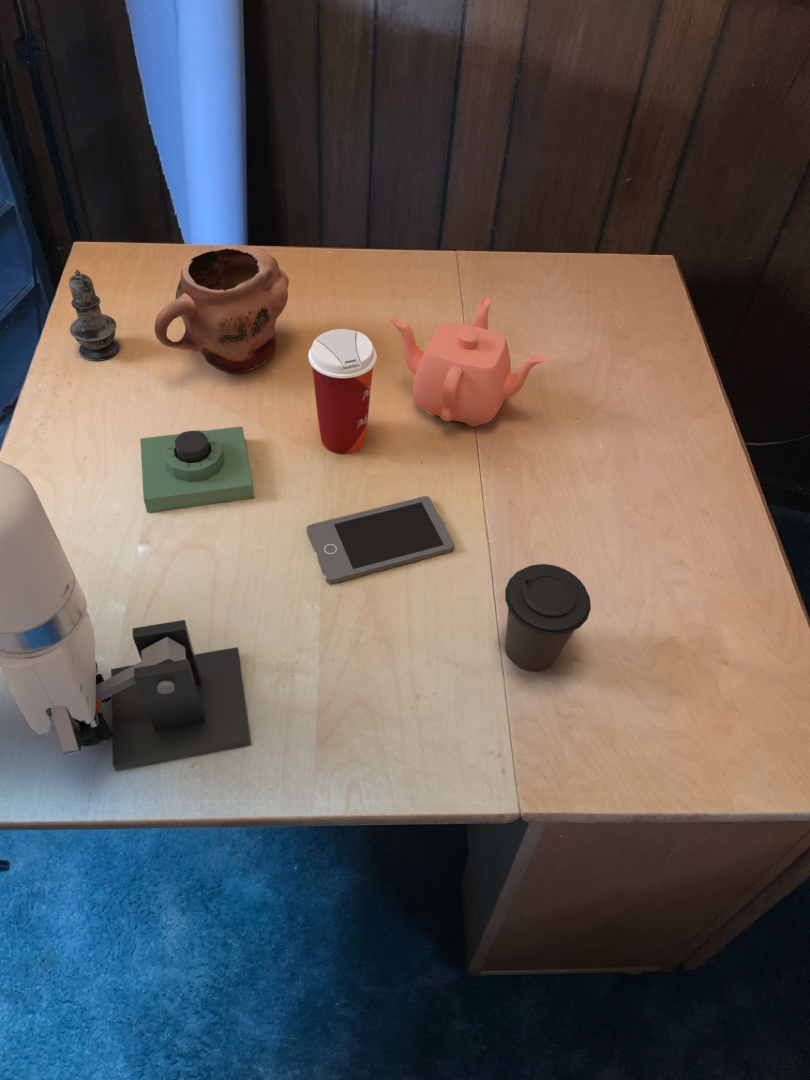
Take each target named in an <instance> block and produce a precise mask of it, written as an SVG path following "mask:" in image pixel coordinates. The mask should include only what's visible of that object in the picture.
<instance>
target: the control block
mask: <svg viewBox="0 0 810 1080" xmlns="http://www.w3.org/2000/svg"><path fill="white" fill-rule="evenodd" d="M195 431H199V432H201V433H203V434H204V435H205V436H206V437H207V440H208V446H209V454H208V456H207V457H206V458H205V459H204V460H202V461H200V462H197V463H186V462H184V461H182V460H180V459H179V457H178V455H177V451H176V446H175V440H176V438H177V437H178V436H179V435H180V434H182V433H184V432H185V431H182V432H181V433H175V434H167V435H165V434H164V435H157V436H150V437H149V436H148V437H141V438H140V441H139V442H140V456H141V457H140V459H141V475H142V479H141V480H142V495H143V496H142V497H143V502H144V506H145V510H146V512H147V513H154V512H155V513H156V512H162V511H167V510H175V509H183V508H190V507H198V506H206V505H212V504H213V505H214V504H219V503H227V502H234V501H235V502H236V501H241V500H249V499H254V498H255V495H254V486H253V480H252V475H251V469H250V463H249V458H248V457H249V456H248V450H247V445H246V439H245V433H244V427H243V426H234V427H233V426H232V427H225V428H215V429H209V430H199V429H198V430H195Z"/></svg>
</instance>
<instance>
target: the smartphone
mask: <svg viewBox="0 0 810 1080" xmlns="http://www.w3.org/2000/svg"><path fill="white" fill-rule="evenodd" d="M306 534H307V536H308V538H309V541H310V544H311V547H312V548H313V552H314V554H315V556H316V559H317V562H318V564H319V566H320V569H321V571H322V574H323V576H324V577H323V578H324V579H325V582H326V583H327V584H336V583H340V582H343V581H347V580H350V579H354V578H357V577H362V576H365V575H369V574H372V573H377V572H380V571H384V570H388V569H391V568H395V567H399V566H402V565H406V564H410V563H413V562H417V561H420V560H424V559H428V558H432V557H435V556H438V555H443V554H446V553H450V552H453V550H454V549H455V542H454V539H453V538H452V536H451V535H450V532H449V531H448V529H447V527H446V525H445V523H444V521H443V519H442V518H441V516H440V514H439V512H438V510H437V508H436V507H435V505H434V503H433V501H432V499H431V497H430V496H427V495H425V496H419V497H416V498H412V499H407V500H404V501H403V500H402V501H399V502H396V503H390V504H388V505H382V506H379V507H375V508H371V509H366V510H362V511H359V512H355V513H351V514H347V515H343V516H339V517H335V518H331V519H327V520H322V521H318V522H314V523H311V524H309V525H307V526H306Z"/></svg>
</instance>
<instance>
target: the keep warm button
mask: <svg viewBox="0 0 810 1080" xmlns="http://www.w3.org/2000/svg"><path fill="white" fill-rule="evenodd" d="M199 431H200V430H199ZM199 431H196V430H187V431H183V432H184V433H182V432H181V433H182V434H181V433H179V434H180V435H179V436H178V437H177V438H176V440H175V446H176V451H177V455H178V457H179V459H180V460H182V461H184V462H186V463H197V462H200V461H202V460H204V459H205V458H206V457H207V456H208V454H209V446H208V440H207V437H206V436H205V435H204V434H203V433H201V432H199Z"/></svg>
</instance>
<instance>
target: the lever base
mask: <svg viewBox="0 0 810 1080" xmlns="http://www.w3.org/2000/svg"><path fill="white" fill-rule="evenodd" d="M131 630H132V639H133V642H134V645H135V648H136V650H137V653H138V655H139V659H140V660H141V661H140V662H142V654H141V650H143V649H145V648H147V647H149V646H151V645H152V644H154V643H156V642H158V641H160V640H162V639H164V638H166V637H168V638H170V639H172V640H173V641H175V642H177V643H179V644H180V645H182V646H184V647H185V653H186V659H185V660H179V661H173V662H168V663H162V664H156V665H150V666H145V667H139V668H134V679H135V681H136V683H135V684H133V685H131V686H130V687H128V688H126V689H124V690H122V691H120V692H118V693H116V694H114V695H112V696H111V731H112V738H111V745H112V746H111V747H112V748H111V750H112V751H111V753H112V754H111V755H112V767H113V768H114V771H115V772H118V771H119V772H120V771H124V770H129V769H135V768H138V767H139V768H140V767H144V766H149V765H153V764H159V763H164V762H169V761H175V760H179V759H184V758H185V759H186V758H189V757H194V756H199V755H200V756H201V755H205V754H210V753H215V752H220V751H225V750H230V749H231V750H232V749H235V748H241V747H246V746H250V745H252V740H251V735H250V734H251V733H250V726H249V719H248V712H247V703H246V696H245V689H244V681H243V672H242V667H241V665H242V664H241V660H240V651H239V647H238V646H236V647H230V648H225V649H219V650H212V651H207V652H202V653H195V651H194V648H193V644H192V640H191V637H190V633H189V629H188V625H187V622H186V620H185V619H181V620H175V621H168V622H162V623H156V624H150V625H145V626H138V627H133V628H132V629H131ZM134 665H135V664H131V665H126V666H120V667H115V668H114V667H113V668H110V678H111V677H113V676H115V675H117V674H119V673H120V672H122V671H124V670H126V669H128V668H130V667H132V666H134Z"/></svg>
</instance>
